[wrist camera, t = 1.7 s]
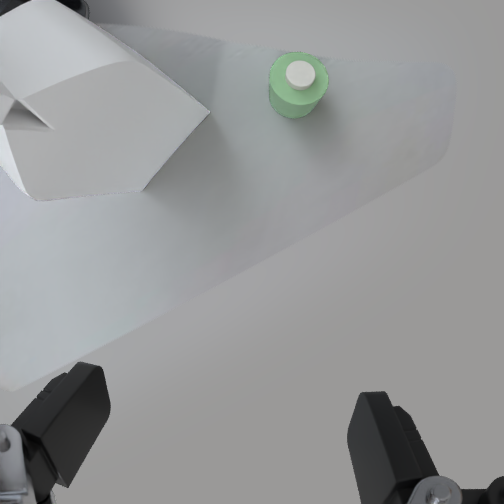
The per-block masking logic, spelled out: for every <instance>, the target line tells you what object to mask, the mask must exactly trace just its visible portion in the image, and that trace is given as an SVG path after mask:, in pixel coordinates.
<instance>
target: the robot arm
mask: <svg viewBox="0 0 504 504" xmlns="http://www.w3.org/2000/svg"><path fill="white" fill-rule="evenodd" d="M29 1H31V0H0V16H2V15H4V14H6V13H7V12H9V11H11V10H13V9H15V8H16V7H18V6H20V5H22V4H24V3H26V2H29ZM56 1H58V2H60V3H61V4H63V5H65V6H66V7H68V8H70V9H71V10H73V11H75V12H76V13H78V14H80V15H81V16H83V17H84V18H86V19H89V7H88V5H87V3H86V2H85V1H84V0H56ZM110 406H111V405H110V399H109V394H108V390H107V385H106V381H105V376H104V372H103V369H102V367H100V366H97V365H93V364H88V363H84V362H78V363H77V364H76V365H75V366H74V367H73V368H72V369H71V370H70V372H68V373H63V374H61V375H59V376H57V377H55V378H54V379H52V380H51V381H50V382H49V383H48V384H47V385H46V387H45V388H44V390H43V391H41V392H40V393H39V394H38V395H37V398H35V399H34V400H33V401H32V402H31V403H30V404H29V405H28V407H27V408H26V409H25V410H24V411H23V412H22V413H21V415H19V417H18V418H17V419H16V420H15V421H14V422H13V424H12V425H11V426H10V425H6V424H0V504H56V500H55V496H54V493H53V491H52V488H53V486H54V484H55V483H57V484H59V485H62V486H64V487H67V488H69V486H70V484H71V482H72V480H73V478H74V477H75V475H76V473H77V471H78V470H79V468H80V466H81V465H82V463H83V461H84V459H85V458H86V456H87V454H88V452H89V451H90V449H91V447H92V445H93V444H94V442H95V440H96V438H97V437H98V435H99V433H100V432H101V430H102V428H103V427H104V425H105V423H106V422H107V420H108V418H109V415H110V408H111V407H110ZM347 442H348V448H349V452H350V456H351V460H352V465H353V469H354V473H355V478H356V482H357V486H358V491H359V495H360V499H361V504H504V476H502V477H499V478H497V479H495V480H494V481H493V482H492V483H491V484H490V486H489V487H488V488H487V489H460V487H459V486H458V485H457V483H455V482H454V481H453V480H451V479H449V478H447V477H443V476H439V474H438V472H437V470H436V468H435V465H434V463H433V461H432V459H431V457H430V455H429V453H428V451H427V448H426V446H425V444H424V442H423V441H422V440H421V436H420V434H419V432H418V430H416V426H415V424H414V422H413V420H412V418H411V416H410V415H409V414H408V413H407V412H406V411H404V410H403V409H402V408H401V407H400V406H395V407H393V406H392V404H391V401H390V399H389V397H388V395H387V393H386V392H384V391H381V392H362V393H360V395H359V397H358V400H357V403H356V406H355V409H354V413H353V415H352V418H351V421H350V424H349V428H348V434H347Z"/></svg>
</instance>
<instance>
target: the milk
mask: <svg viewBox="0 0 504 504" xmlns="http://www.w3.org/2000/svg"><path fill="white" fill-rule="evenodd" d="M209 113H210V111H209V110H208V109H207V108H206V107H204V106H203V105H202V104H201V103H200V102H199V101H197V100H196V99H195V98H194V97H193V96H191V95H190V94H189V93H188V92H187V91H185V90H184V89H183V88H182V87H181V86H179V85H178V84H177V83H176V82H174V81H173V80H172V79H171V78H170V77H168V76H167V75H166V74H165V73H163V72H162V71H161V70H160V69H158V68H157V67H156V66H154V65H153V64H152V63H151V62H149V61H148V60H147V59H145V58H144V57H143V56H142V55H140V54H139V53H138V52H136V51H135V50H133V49H132V48H130V47H129V46H127V45H126V44H125V43H123V42H122V41H120V40H119V39H117V38H116V37H114V36H113V35H111V34H110V33H108V32H107V31H105V30H103V29H102V28H100V27H99V26H97V25H96V24H94V23H92V22H91V21H89V20H88V19H86V18H84V17H83V16H81V15H80V14H78V13H76V12H75V11H73V10H71V9H70V8H68V7H66V6H65V5H63V4H61V3H60V2H58V1H56V0H31V1H29V2H26V3H24V4H22V5H20V6H18V7H16V8H15V9H13V10H11V11H9V12H7V13H6V14H4V15H2V16H0V165H1V167H2V168H3V169H4V171H5V172H6V173H7V175H8V176H9V177H10V178H11V180H12V181H13V182H14V184H15V185H16V186H17V187H18V189H19V190H21V191H22V192H24V193H25V194H26V195H28V196H29V197H31V198H32V199H34V200H36V201H49V200H57V199H66V198H75V197H84V196H94V195H105V194H116V193H128V192H141V191H142V190H143V189H144V188H145V187H146V185H147V184H148V183H149V182H150V180H151V179H152V178H153V177H154V176H155V174H156V173H157V172H158V171H159V170H160V168H161V167H162V166H163V165H164V164H165V162H166V161H167V160H168V159H169V158H170V157H171V155H172V154H173V153H174V152H175V151H176V150H177V148H178V147H179V146H180V145H181V144H182V143H183V142H184V140H185V139H186V138H187V137H188V136H189V135H190V134H191V133H192V132H193V130H194V129H195V128H196V127H197V126H198V125H199V124H200V123H201V122H202V121H203V120H204V119H205V118H206V116H207V115H208V114H209Z"/></svg>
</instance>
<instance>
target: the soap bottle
mask: <svg viewBox="0 0 504 504" xmlns="http://www.w3.org/2000/svg"><path fill="white" fill-rule="evenodd" d="M328 83H329V78H328V73H327V71H326V68H325V67H324V65H323V64H322V63H321V62H320V61H319V60H318V59H317V58H315V57H314V56H312V55H310V54H307V53H303V52H292V53H288V54H285V55H283V56H281V57H280V58H278V59H277V60H276V61H275V62H274V64H273V65H272V67H271V70H270V77H269V99H270V103H271V105H272V107H273V108H274V109H275V111H276V112H278V113H279V114H280V115H282V116H284V117H288V118H301V117H303V116H306V115H307V114H309V113H310V112H311V111H312V110H313V108H314V107H315V106H316V104H317V103H318V102H319V100H320V99H321V98H322V96H323V95H324V94H325V92H326V90H327V88H328Z"/></svg>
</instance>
